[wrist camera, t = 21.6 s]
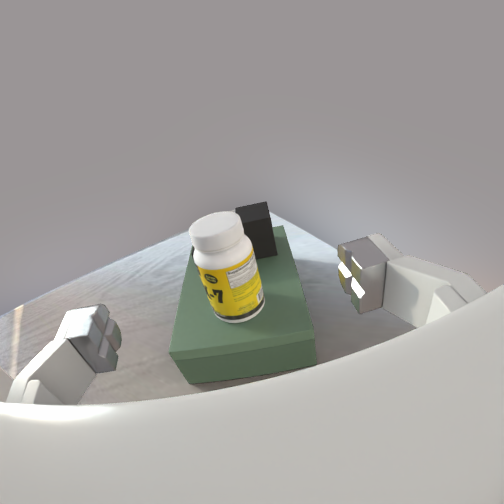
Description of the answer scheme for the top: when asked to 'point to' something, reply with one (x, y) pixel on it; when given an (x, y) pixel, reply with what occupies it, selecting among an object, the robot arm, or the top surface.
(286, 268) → the block
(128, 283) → the top surface
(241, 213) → the dark stepped block
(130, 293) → the top surface
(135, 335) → the top surface
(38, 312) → the top surface
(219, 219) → the supplement bottle
